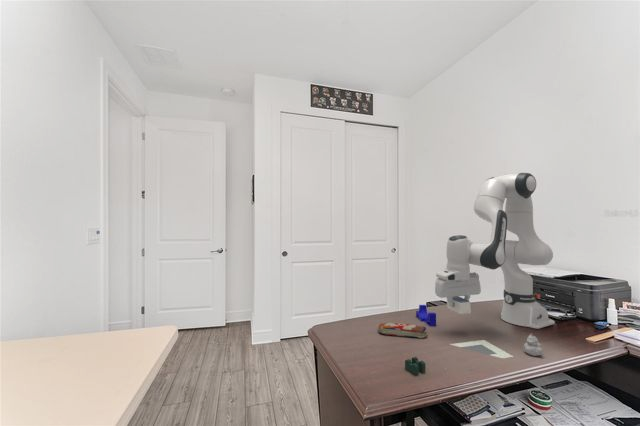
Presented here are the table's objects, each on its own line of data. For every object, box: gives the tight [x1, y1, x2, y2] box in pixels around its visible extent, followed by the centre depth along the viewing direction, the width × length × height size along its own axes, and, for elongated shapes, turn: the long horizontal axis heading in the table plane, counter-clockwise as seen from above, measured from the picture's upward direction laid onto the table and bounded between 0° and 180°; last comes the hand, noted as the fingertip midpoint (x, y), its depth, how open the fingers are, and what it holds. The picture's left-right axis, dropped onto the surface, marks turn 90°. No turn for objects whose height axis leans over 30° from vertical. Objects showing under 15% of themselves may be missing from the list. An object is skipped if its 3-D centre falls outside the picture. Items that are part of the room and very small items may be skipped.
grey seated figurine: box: [523, 333, 543, 357], centre depth 99 cm, size 5×7×8 cm
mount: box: [404, 356, 426, 377], centre depth 86 cm, size 11×4×5 cm, turn 119°
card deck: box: [446, 296, 472, 315], centre depth 116 cm, size 5×8×5 cm, turn 13°
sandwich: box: [378, 322, 428, 339], centre depth 114 cm, size 11×20×5 cm, turn 66°
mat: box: [449, 339, 514, 359], centre depth 100 cm, size 18×13×1 cm
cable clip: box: [415, 304, 437, 327], centre depth 129 cm, size 12×4×6 cm, turn 2°
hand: (458, 305), depth 116 cm, fingers closed on card deck, 5 cm apart
